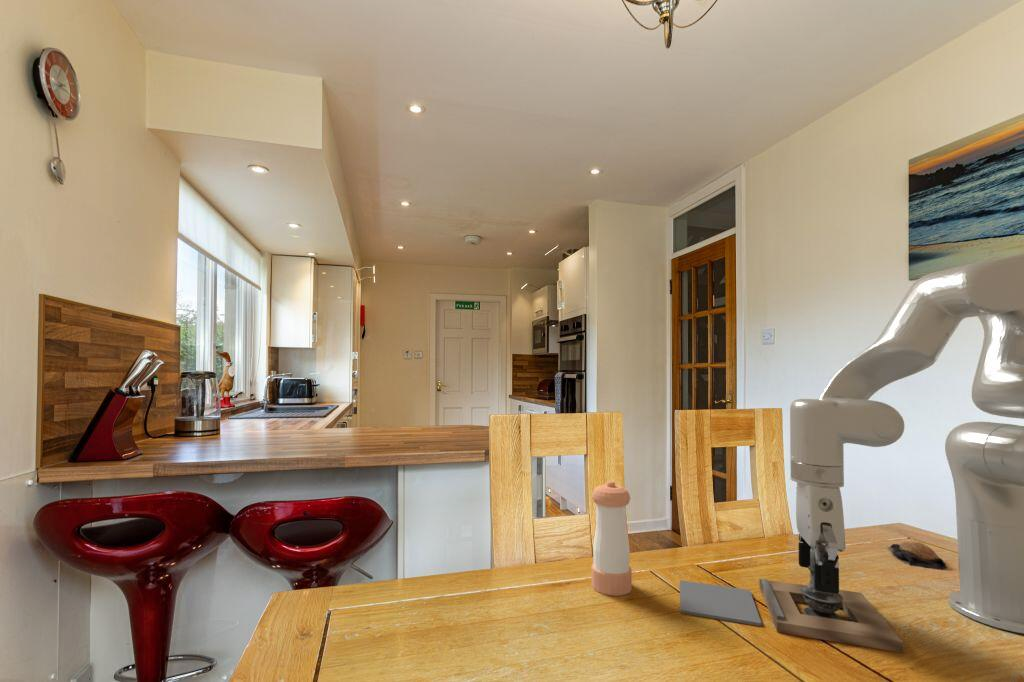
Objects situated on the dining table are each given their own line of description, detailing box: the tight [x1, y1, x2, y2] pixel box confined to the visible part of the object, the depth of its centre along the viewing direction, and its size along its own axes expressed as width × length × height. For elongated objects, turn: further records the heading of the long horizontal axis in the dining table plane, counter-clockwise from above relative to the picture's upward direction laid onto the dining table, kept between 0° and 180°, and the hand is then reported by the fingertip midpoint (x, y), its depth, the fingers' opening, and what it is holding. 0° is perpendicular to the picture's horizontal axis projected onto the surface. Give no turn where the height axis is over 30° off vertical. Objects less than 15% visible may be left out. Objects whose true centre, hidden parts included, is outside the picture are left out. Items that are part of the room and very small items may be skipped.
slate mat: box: [679, 579, 763, 627], centre depth 82 cm, size 12×12×1 cm
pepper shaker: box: [591, 480, 633, 596], centre depth 88 cm, size 7×7×19 cm
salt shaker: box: [801, 543, 843, 620], centre depth 78 cm, size 6×6×12 cm
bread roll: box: [886, 541, 948, 571], centre depth 102 cm, size 11×8×4 cm
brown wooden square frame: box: [758, 578, 904, 653], centre depth 78 cm, size 16×16×2 cm
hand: (817, 578), depth 78 cm, fingers open, 9 cm apart
